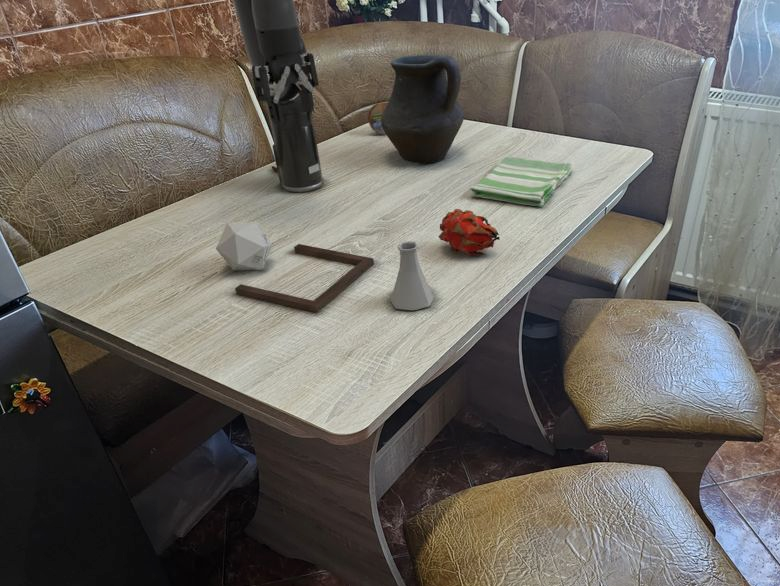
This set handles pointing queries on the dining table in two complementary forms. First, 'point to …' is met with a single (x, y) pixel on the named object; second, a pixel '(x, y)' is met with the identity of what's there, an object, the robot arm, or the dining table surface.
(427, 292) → the flask
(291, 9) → the robot arm
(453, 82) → the pitcher
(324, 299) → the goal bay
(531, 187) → the dish towel
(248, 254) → the die
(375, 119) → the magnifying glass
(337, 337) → the dining table surface
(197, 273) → the dining table surface
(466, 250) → the dragon fruit
